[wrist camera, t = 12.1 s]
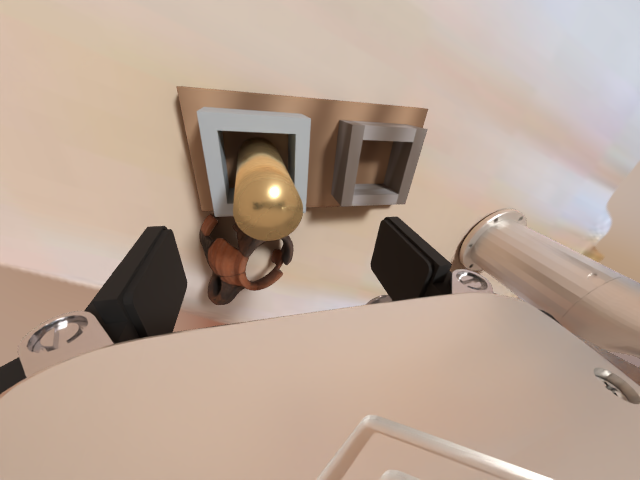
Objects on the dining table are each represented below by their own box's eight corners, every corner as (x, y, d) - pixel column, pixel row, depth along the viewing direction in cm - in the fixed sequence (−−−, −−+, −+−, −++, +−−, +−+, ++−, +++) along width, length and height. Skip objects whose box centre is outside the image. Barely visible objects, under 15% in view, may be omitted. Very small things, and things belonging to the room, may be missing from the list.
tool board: (419, 107, 26) (451, 112, 22) (394, 199, 32) (416, 215, 28) (180, 86, 20) (164, 86, 16) (203, 205, 26) (196, 227, 22)
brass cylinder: (279, 137, 23) (304, 177, 13) (279, 178, 25) (301, 238, 15) (235, 136, 22) (228, 178, 12) (240, 178, 24) (237, 243, 14)
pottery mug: (210, 186, 26) (253, 215, 21) (271, 209, 33) (312, 234, 29) (169, 282, 27) (200, 328, 22) (237, 282, 35) (270, 317, 30)
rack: (301, 113, 22) (310, 118, 19) (298, 197, 27) (305, 212, 23) (203, 106, 20) (196, 111, 17) (218, 199, 24) (214, 216, 21)
